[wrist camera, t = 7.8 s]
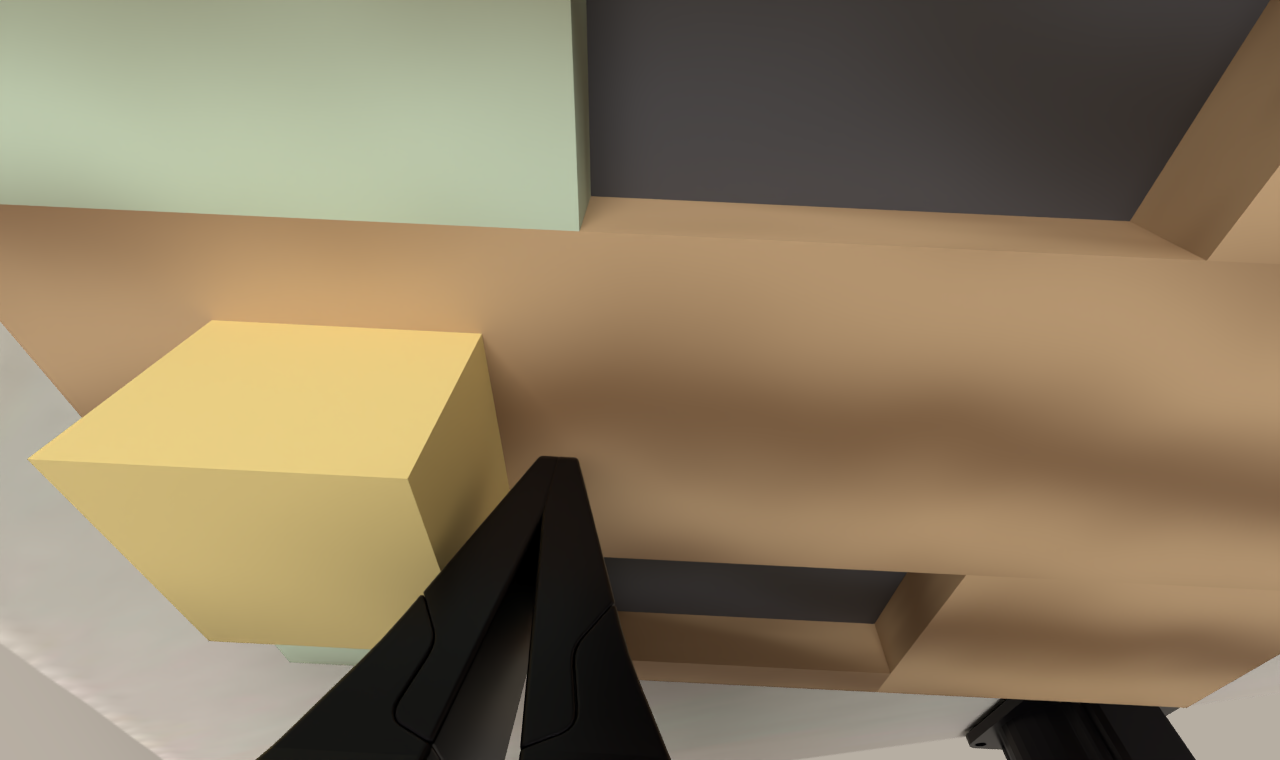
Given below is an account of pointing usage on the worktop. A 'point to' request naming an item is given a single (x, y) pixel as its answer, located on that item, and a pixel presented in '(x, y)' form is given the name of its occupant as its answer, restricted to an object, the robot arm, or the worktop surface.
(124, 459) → the mustard block
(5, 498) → the worktop surface
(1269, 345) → the trap deck
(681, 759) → the worktop surface
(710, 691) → the worktop surface
